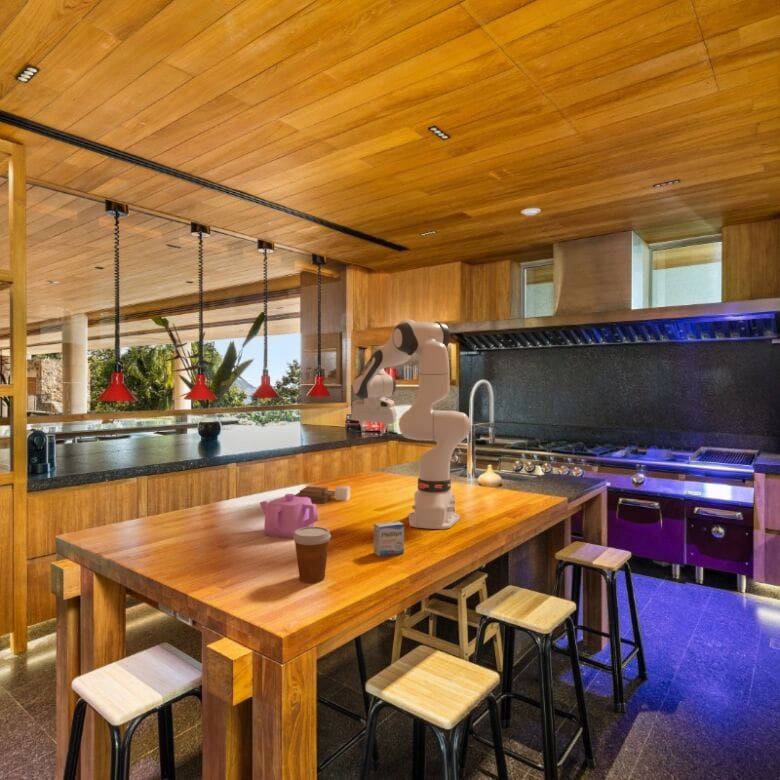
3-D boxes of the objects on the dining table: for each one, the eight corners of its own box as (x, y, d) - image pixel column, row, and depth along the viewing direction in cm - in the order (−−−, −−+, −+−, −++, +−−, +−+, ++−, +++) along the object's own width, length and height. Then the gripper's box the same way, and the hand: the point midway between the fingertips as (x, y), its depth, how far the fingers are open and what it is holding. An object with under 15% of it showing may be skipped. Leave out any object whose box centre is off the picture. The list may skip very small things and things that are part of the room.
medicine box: (379, 557, 151) (379, 527, 150) (373, 552, 155) (373, 523, 154) (404, 553, 154) (404, 524, 153) (398, 549, 158) (398, 520, 158)
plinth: (324, 503, 215) (324, 493, 215) (291, 501, 218) (291, 491, 218) (335, 495, 228) (335, 486, 228) (304, 494, 231) (304, 485, 231)
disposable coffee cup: (285, 582, 132) (285, 534, 132) (305, 569, 141) (305, 524, 141) (319, 587, 129) (319, 538, 128) (337, 574, 137) (337, 528, 137)
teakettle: (270, 542, 165) (270, 502, 164) (258, 528, 180) (258, 491, 180) (322, 535, 172) (322, 497, 172) (307, 522, 187) (307, 487, 187)
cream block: (346, 500, 220) (346, 488, 219) (335, 500, 221) (335, 488, 221) (350, 498, 224) (350, 486, 224) (338, 497, 226) (338, 485, 225)
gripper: (349, 400, 236) (349, 430, 238) (393, 404, 230) (392, 435, 232) (355, 398, 242) (354, 428, 244) (397, 401, 235) (396, 432, 237)
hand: (373, 431), depth 238 cm, fingers open, 8 cm apart
